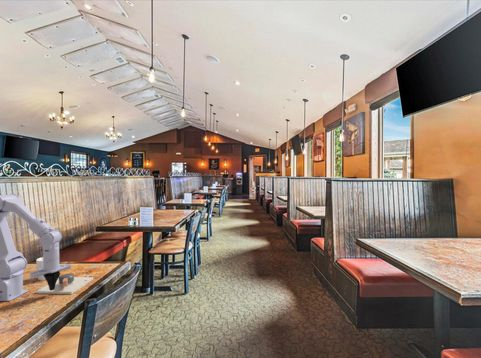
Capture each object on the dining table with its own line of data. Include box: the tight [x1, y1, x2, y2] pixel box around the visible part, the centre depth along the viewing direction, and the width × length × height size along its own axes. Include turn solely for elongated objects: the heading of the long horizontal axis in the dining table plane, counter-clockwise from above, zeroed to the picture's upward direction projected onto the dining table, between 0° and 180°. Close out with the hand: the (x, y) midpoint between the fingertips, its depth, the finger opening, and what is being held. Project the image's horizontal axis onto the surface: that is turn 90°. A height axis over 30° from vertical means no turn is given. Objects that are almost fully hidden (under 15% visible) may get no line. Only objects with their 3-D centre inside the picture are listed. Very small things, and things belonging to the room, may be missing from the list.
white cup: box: [35, 256, 46, 281], centre depth 133 cm, size 8×8×10 cm
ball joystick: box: [58, 272, 75, 287], centre depth 121 cm, size 10×6×2 cm, turn 28°
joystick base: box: [35, 276, 94, 295], centre depth 123 cm, size 16×16×2 cm
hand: (51, 289), depth 114 cm, fingers closed
